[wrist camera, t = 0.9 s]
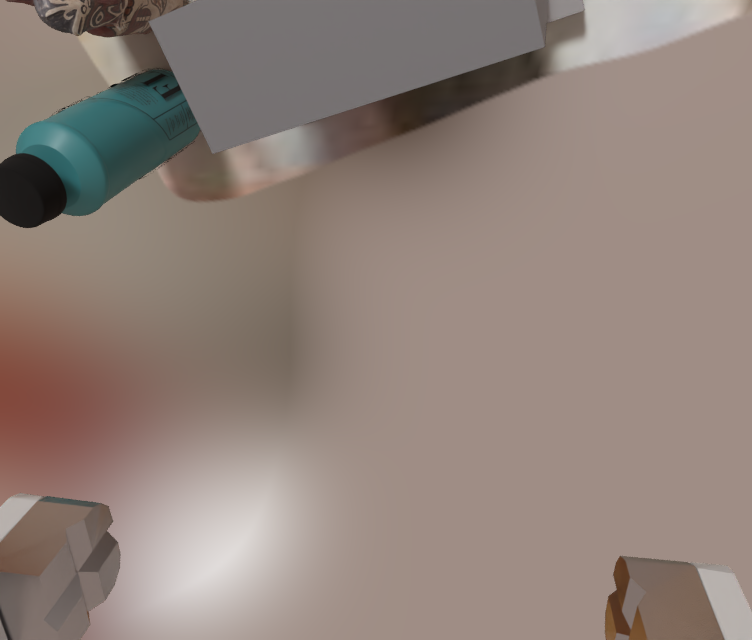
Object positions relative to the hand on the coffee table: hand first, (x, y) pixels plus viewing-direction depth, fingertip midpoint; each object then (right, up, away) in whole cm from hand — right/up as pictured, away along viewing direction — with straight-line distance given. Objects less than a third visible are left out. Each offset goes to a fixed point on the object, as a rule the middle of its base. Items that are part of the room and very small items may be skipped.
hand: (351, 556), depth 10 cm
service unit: (+2, +27, +34) cm, 43 cm away
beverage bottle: (-16, +22, +43) cm, 51 cm away
